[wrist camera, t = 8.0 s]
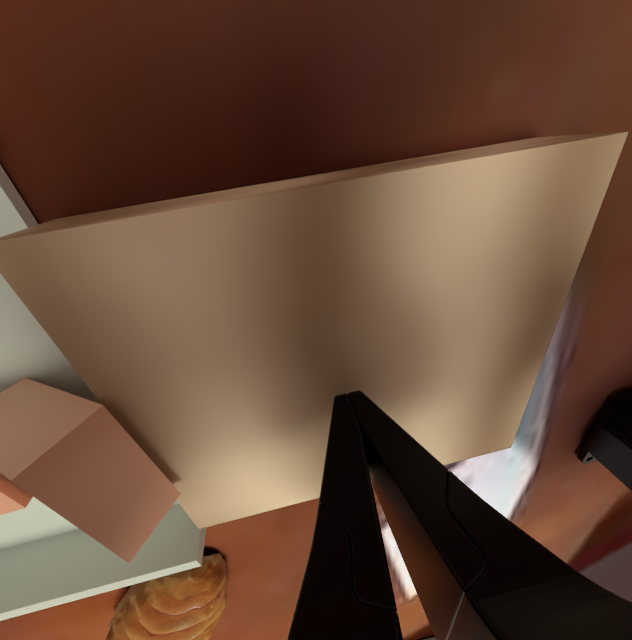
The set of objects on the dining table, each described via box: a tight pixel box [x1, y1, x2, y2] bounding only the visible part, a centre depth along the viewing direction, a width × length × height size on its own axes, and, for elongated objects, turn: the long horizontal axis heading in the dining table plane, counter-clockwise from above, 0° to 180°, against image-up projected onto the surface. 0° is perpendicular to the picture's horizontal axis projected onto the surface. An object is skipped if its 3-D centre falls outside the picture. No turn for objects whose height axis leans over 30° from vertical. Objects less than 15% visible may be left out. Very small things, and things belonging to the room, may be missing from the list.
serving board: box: [0, 132, 628, 529], centre depth 10 cm, size 14×12×2 cm
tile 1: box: [0, 378, 181, 563], centre depth 9 cm, size 4×4×2 cm
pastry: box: [106, 553, 227, 640], centre depth 18 cm, size 9×7×4 cm
